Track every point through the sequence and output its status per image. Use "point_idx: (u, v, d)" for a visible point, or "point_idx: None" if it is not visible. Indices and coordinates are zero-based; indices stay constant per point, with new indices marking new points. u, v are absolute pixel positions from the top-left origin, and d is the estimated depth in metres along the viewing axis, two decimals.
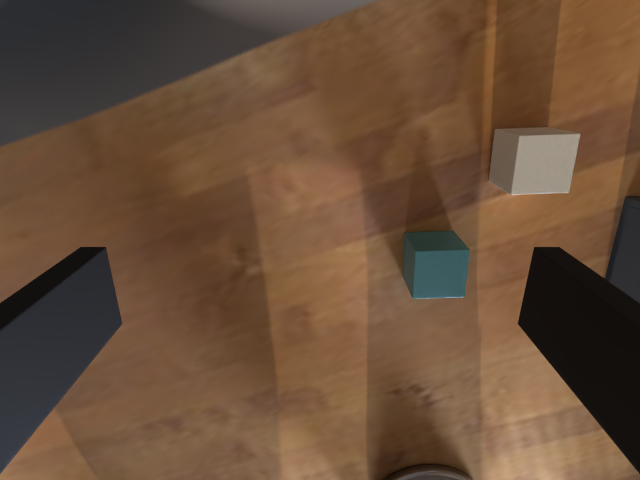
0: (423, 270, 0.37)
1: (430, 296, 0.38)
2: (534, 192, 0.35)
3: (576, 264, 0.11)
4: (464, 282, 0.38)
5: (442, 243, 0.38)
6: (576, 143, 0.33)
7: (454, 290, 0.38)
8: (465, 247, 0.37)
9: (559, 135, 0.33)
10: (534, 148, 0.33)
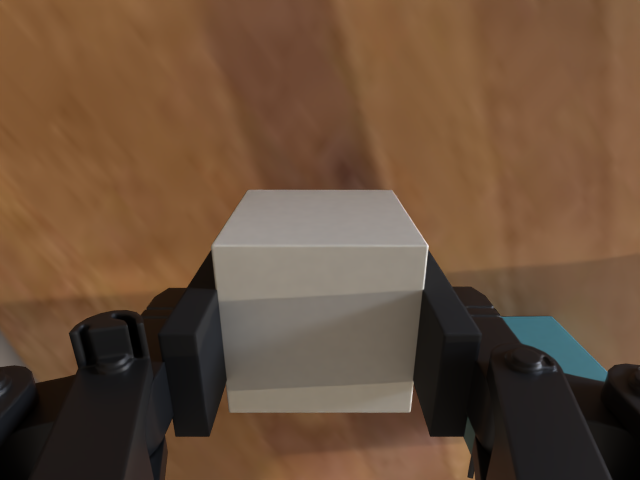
0: None
1: None
2: (412, 353, 0.10)
3: None
4: None
5: None
6: (246, 252, 0.09)
7: None
8: None
9: None
10: (265, 371, 0.10)
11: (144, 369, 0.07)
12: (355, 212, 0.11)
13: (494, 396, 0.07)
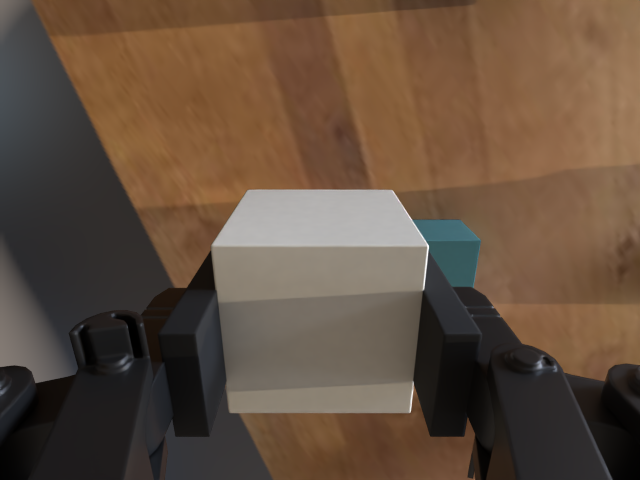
0: None
1: (472, 278, 0.32)
2: (412, 353, 0.10)
3: None
4: (460, 242, 0.31)
5: None
6: (246, 252, 0.09)
7: (469, 252, 0.31)
8: None
9: None
10: (265, 372, 0.10)
11: (144, 369, 0.07)
12: (355, 212, 0.11)
13: (494, 396, 0.07)
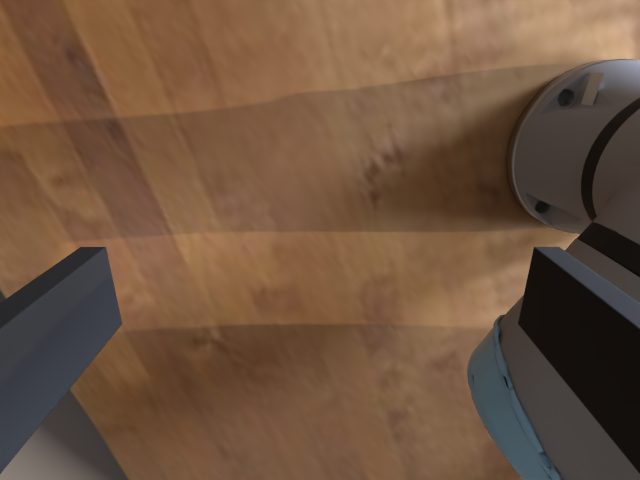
0: None
1: None
2: None
3: (576, 264, 0.11)
4: None
5: None
6: None
7: None
8: None
9: None
10: None
11: None
12: None
13: None
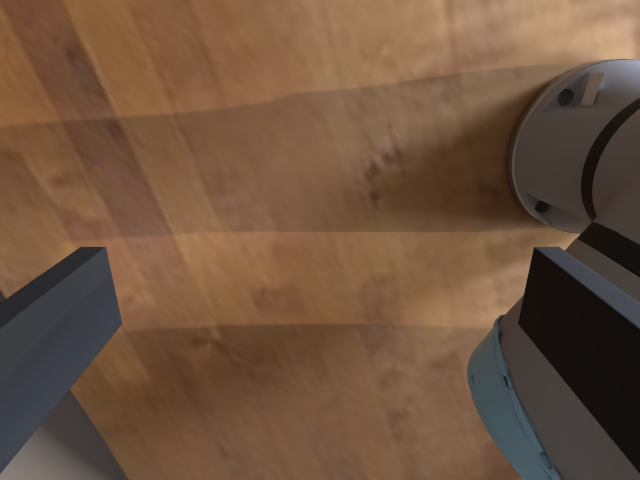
0: None
1: None
2: None
3: (576, 264, 0.11)
4: None
5: None
6: None
7: None
8: None
9: None
10: None
11: None
12: None
13: None
